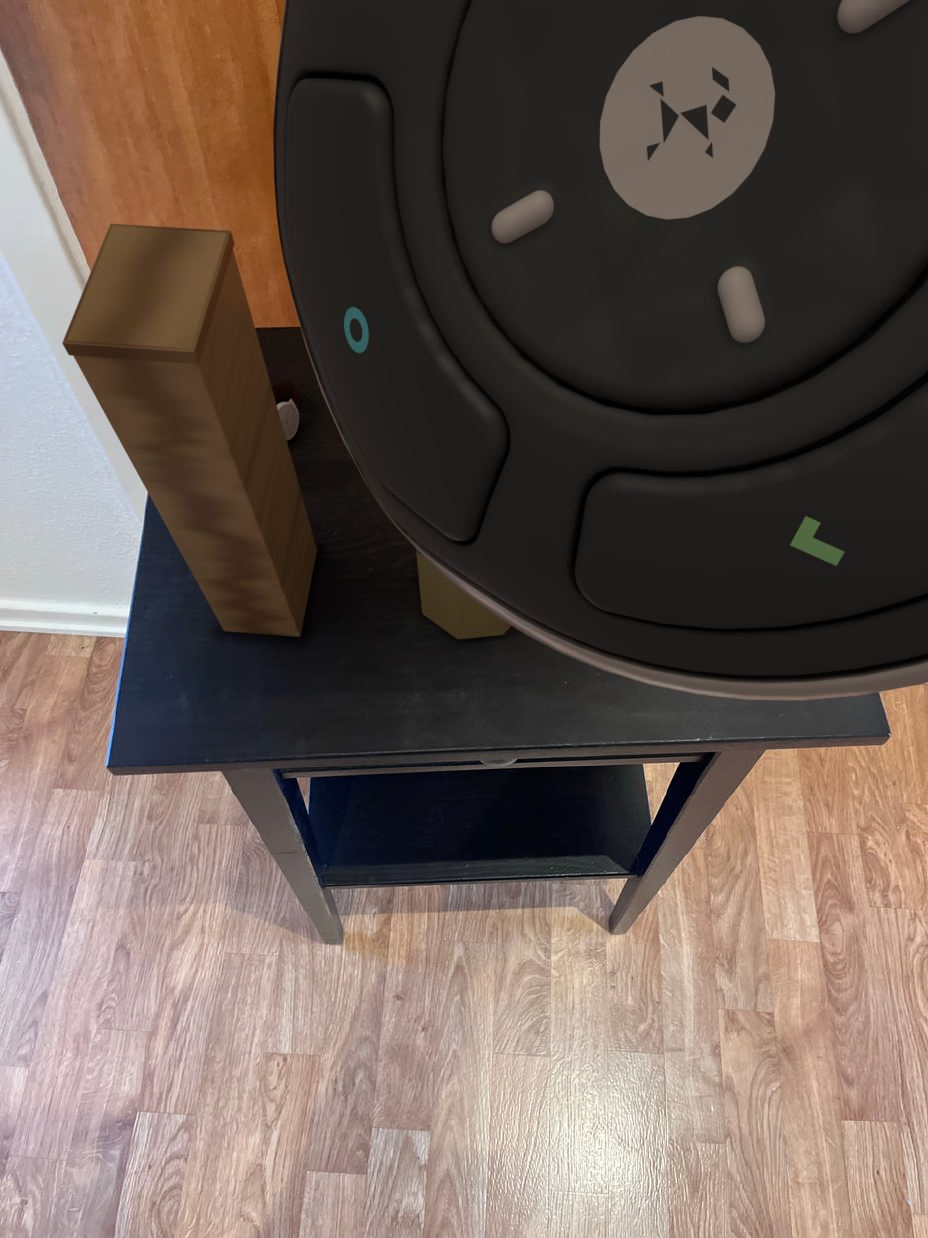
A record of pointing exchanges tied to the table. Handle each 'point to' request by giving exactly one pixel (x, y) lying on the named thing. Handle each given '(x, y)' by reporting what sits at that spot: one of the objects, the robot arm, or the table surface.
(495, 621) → the jar
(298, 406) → the watch
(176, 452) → the tall box
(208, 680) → the table surface
